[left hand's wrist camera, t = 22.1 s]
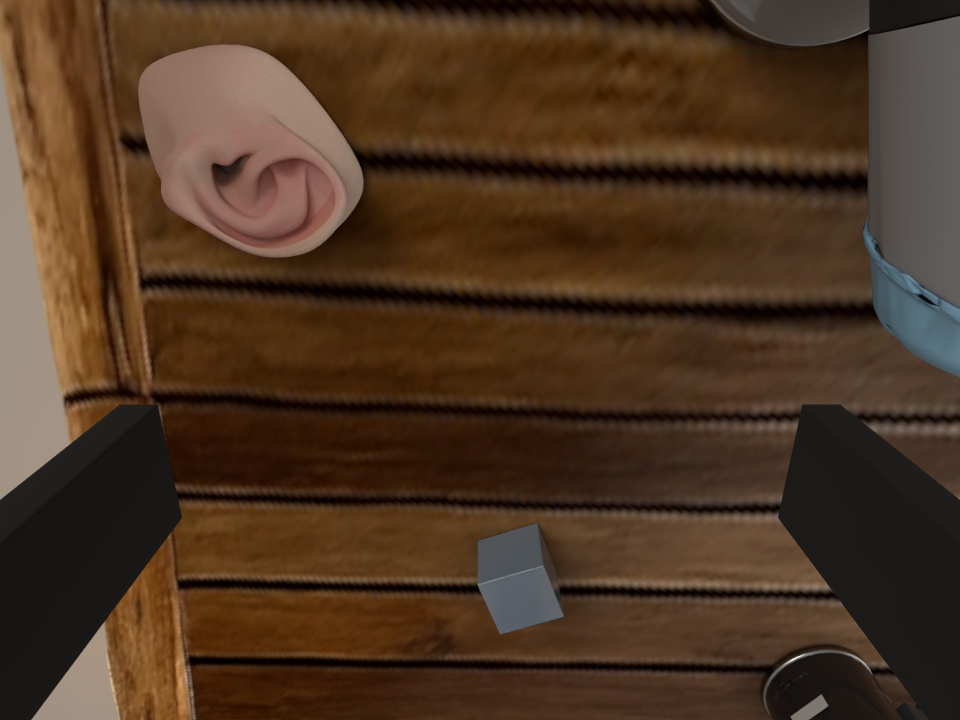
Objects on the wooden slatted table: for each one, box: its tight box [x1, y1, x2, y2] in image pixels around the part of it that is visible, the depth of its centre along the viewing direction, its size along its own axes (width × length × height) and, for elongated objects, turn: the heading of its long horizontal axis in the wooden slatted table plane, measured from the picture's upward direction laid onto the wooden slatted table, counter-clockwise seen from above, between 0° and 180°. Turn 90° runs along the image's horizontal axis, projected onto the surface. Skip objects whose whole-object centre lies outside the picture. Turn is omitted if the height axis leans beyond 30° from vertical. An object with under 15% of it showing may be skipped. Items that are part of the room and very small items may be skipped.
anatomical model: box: [138, 45, 364, 258], centre depth 36 cm, size 13×4×12 cm
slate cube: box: [478, 523, 564, 634], centre depth 47 cm, size 5×5×5 cm
